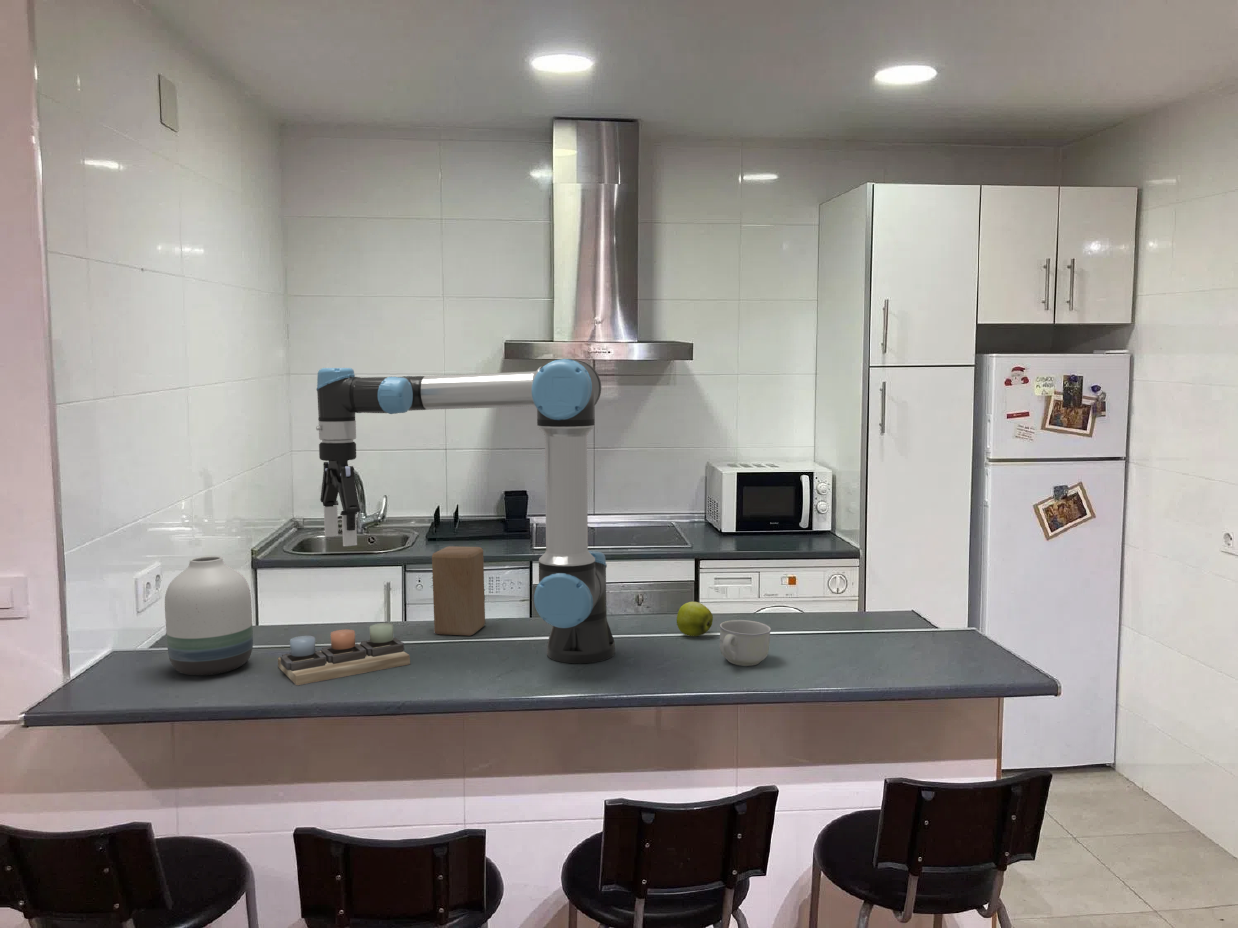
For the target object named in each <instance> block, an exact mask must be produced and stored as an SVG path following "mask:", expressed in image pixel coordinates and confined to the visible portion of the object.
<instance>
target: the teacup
mask: <svg viewBox="0 0 1238 928" xmlns="http://www.w3.org/2000/svg"><path fill="white" fill-rule="evenodd" d="M771 628H772V627H770V626H769V625H768V624H766V623H762V622H759V621H754V620H747V619H731V620H725V621H722V622H721V623H720V624H719V630H720V631H719V649H720V653H721V655H722V656H723V657H724V658H725V659H726V660H727V661H728V662H729V663H731V664H732V665H736V666H740V667H741V666H744V667H750V666H757V665H759V664H760V663H761V662H762V661H764V660H765V659H766V658H767V656H768V654H769V649H770V639H771V631H772V629H771Z"/></svg>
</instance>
